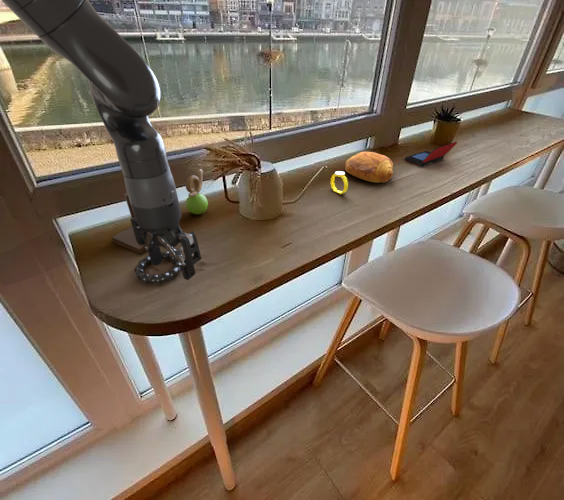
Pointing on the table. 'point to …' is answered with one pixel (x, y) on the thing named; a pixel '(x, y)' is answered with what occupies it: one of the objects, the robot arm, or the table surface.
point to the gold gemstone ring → (342, 175)
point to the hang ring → (157, 278)
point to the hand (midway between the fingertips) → (173, 270)
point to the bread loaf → (370, 167)
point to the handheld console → (430, 155)
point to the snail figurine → (196, 194)
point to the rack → (129, 235)
